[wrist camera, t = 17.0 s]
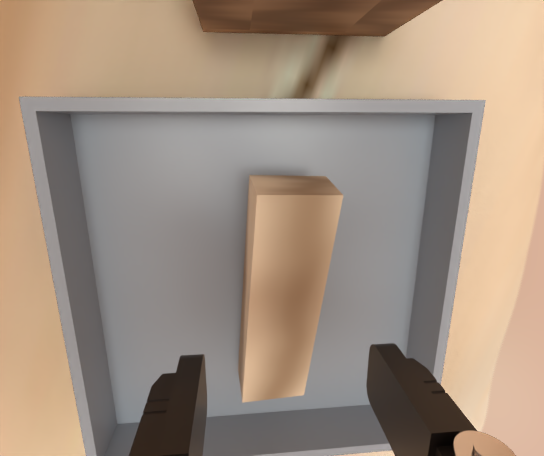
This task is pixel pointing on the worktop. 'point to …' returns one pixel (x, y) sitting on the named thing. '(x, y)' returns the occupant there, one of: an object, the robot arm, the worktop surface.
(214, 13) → the walnut frame
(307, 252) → the maple bar
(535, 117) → the worktop surface
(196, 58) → the worktop surface
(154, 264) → the slate tray
